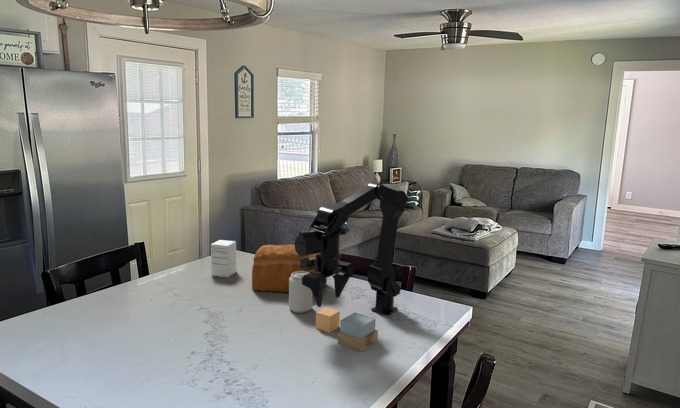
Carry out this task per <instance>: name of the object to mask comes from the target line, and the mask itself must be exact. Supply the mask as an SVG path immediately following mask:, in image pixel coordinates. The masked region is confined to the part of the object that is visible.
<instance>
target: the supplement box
mask: <svg viewBox="0 0 680 408" xmlns="http://www.w3.org/2000/svg"><path fill="white" fill-rule="evenodd" d="M210 264H211V265H210V268H211V276H215V277H222V278H229V277H231V276H232V275H234V274H235V273H237V272H238V271H237V270H238V269H237V241H236V240H225V239H218V240H216V241H215V242H212V243H210Z"/></svg>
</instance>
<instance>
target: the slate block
mask: <svg viewBox="0 0 680 408" xmlns="http://www.w3.org/2000/svg"><path fill="white" fill-rule="evenodd" d="M339 327H340V328H339V329H340V330H339V332H341V333H344V334H347V335H350V336H353V337H356V338H359V339H363V338H364V337H366V336H367V335H369V334H370V333H372V332H373V331H375V330H376V318H375V317H372V316H369V315H364V314H362V313H358V312H353V313H350V314H349V315H347V316H345V317H344V318H342V319H339Z"/></svg>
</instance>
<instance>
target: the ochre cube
mask: <svg viewBox="0 0 680 408" xmlns="http://www.w3.org/2000/svg"><path fill="white" fill-rule="evenodd" d="M340 312H341V311H340V310H336V309H334V308H330V307H323V308H322V309H319V310H318V311H316V312H315V329H318V330H320V331H323V332H328V334H329V333H331V332H333V331H335V330H336V329H338V328H339V327H340V320H341V319H340V318H341V317H340V316H341V314H340Z"/></svg>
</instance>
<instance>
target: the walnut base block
mask: <svg viewBox="0 0 680 408" xmlns="http://www.w3.org/2000/svg"><path fill="white" fill-rule="evenodd" d="M378 335H379V331H378V329H375V331H373V332H372V333H370V334H369V335H367V336H366V337H364V338H363V339H359V338H356V337H353V336H350V335H347V334H344V333H341V332H340V331H338V332H337V344H339V345H340V346H344V347H347V348H349V349H353V350H356V351H359V352H364V351H366V350H367V349H368V348H370V347H371V346H373V345H374V344H376V343H377V342H378V337H379V336H378Z"/></svg>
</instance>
